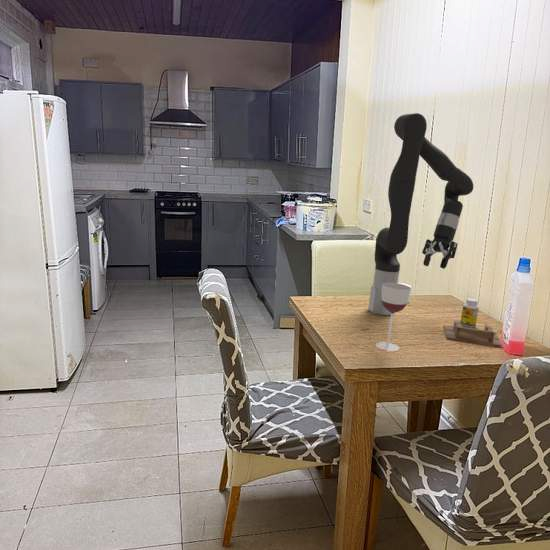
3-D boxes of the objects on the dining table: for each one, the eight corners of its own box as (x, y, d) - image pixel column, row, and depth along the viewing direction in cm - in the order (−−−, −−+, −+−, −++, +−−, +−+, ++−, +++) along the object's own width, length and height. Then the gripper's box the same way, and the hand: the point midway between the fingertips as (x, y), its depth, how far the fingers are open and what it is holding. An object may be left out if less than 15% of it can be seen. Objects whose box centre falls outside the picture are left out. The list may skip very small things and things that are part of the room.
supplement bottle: (456, 323, 193) (461, 297, 191) (467, 322, 196) (471, 297, 193) (467, 328, 188) (472, 302, 186) (478, 327, 191) (483, 301, 188)
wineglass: (395, 353, 156) (404, 291, 152) (369, 345, 161) (377, 284, 157) (405, 347, 163) (414, 287, 158) (380, 339, 168) (388, 281, 163)
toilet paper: (386, 295, 227) (389, 280, 226) (411, 300, 222) (413, 285, 220) (380, 299, 220) (382, 283, 219) (406, 304, 215) (408, 288, 213)
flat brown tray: (443, 327, 187) (445, 316, 187) (495, 334, 184) (497, 323, 183) (446, 339, 174) (448, 327, 173) (502, 347, 170) (504, 335, 169)
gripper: (426, 223, 199) (413, 262, 198) (454, 224, 186) (441, 265, 186) (439, 229, 203) (426, 267, 202) (467, 230, 190) (454, 271, 189)
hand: (433, 266), depth 194 cm, fingers open, 8 cm apart
